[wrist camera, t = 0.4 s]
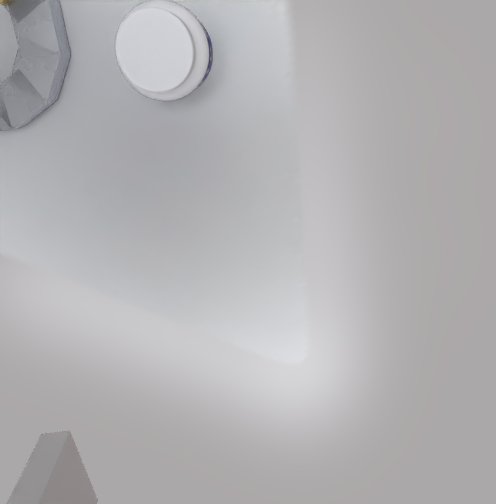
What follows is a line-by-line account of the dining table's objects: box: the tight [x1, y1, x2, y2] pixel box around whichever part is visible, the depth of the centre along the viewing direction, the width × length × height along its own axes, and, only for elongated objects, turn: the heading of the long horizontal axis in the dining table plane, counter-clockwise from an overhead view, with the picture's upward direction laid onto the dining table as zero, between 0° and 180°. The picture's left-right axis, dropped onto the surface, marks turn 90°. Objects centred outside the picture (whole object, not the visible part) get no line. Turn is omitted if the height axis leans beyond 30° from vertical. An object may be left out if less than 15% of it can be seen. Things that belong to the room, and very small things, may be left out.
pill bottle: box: [115, 0, 213, 101], centre depth 26 cm, size 5×5×9 cm
